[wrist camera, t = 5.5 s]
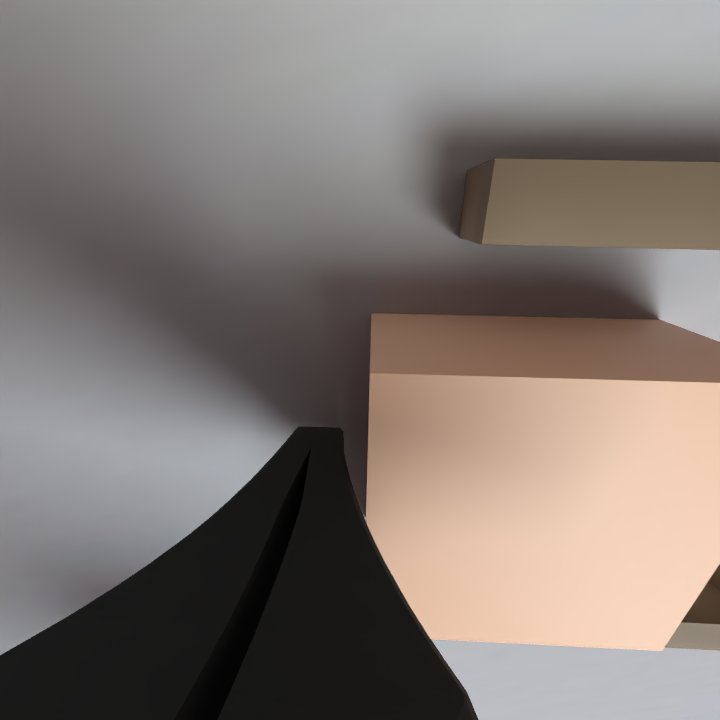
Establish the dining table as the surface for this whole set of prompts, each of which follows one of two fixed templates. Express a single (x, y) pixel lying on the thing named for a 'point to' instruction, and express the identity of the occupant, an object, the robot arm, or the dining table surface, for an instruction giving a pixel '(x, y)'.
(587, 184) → the brown u-shaped wooden frame
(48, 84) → the dining table surface
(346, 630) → the robot arm
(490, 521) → the carton
